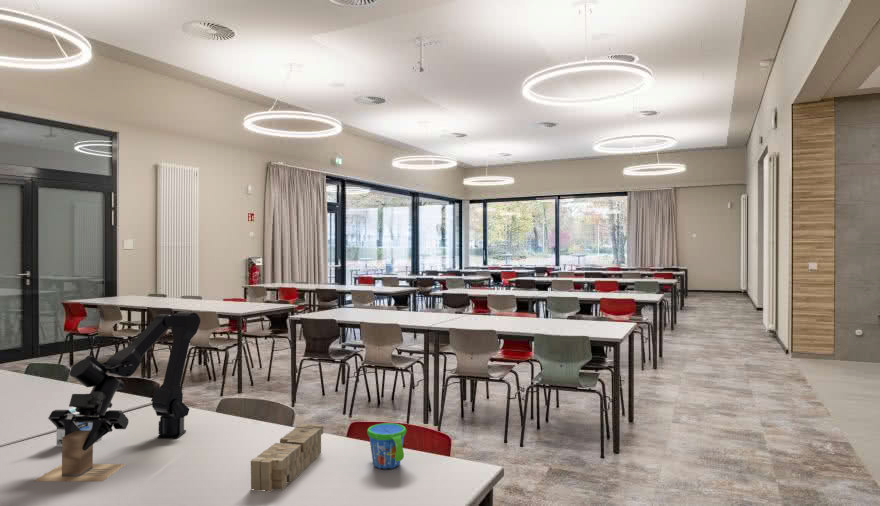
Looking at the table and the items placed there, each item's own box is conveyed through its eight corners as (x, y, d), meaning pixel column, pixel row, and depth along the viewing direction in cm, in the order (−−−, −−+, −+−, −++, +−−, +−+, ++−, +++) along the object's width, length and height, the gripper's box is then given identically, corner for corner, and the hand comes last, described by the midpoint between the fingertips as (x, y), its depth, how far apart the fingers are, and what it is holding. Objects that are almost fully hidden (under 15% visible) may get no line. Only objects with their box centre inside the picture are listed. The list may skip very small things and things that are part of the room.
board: (125, 467, 149) (125, 463, 149) (102, 484, 138) (102, 480, 138) (61, 467, 148) (61, 464, 148) (33, 484, 137) (33, 480, 137)
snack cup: (359, 458, 158) (360, 422, 158) (394, 452, 162) (394, 418, 162) (377, 478, 144) (378, 439, 144) (414, 472, 148) (415, 434, 148)
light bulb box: (74, 450, 161) (74, 414, 161) (54, 449, 162) (55, 412, 162) (103, 439, 171) (103, 404, 171) (85, 437, 173) (85, 403, 173)
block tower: (279, 497, 134) (324, 451, 163) (279, 463, 134) (324, 423, 163) (249, 494, 136) (299, 449, 164) (249, 460, 135) (299, 421, 164)
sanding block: (92, 468, 146) (93, 430, 146) (79, 476, 140) (80, 437, 141) (75, 468, 146) (75, 430, 146) (61, 476, 140) (62, 437, 140)
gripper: (53, 379, 147) (21, 434, 136) (123, 380, 147) (96, 435, 136) (72, 401, 155) (44, 454, 144) (138, 402, 155) (115, 455, 144)
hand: (74, 449), depth 142 cm, fingers closed on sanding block, 5 cm apart
